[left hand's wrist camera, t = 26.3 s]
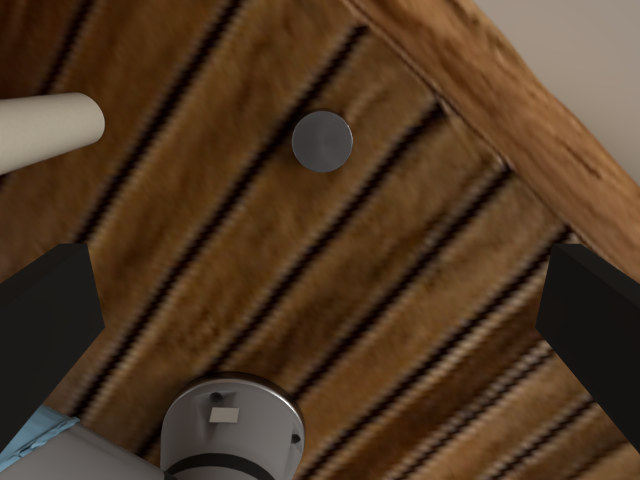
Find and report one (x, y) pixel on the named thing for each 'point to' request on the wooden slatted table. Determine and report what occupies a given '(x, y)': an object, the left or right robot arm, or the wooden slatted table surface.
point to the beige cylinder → (46, 127)
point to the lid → (322, 140)
